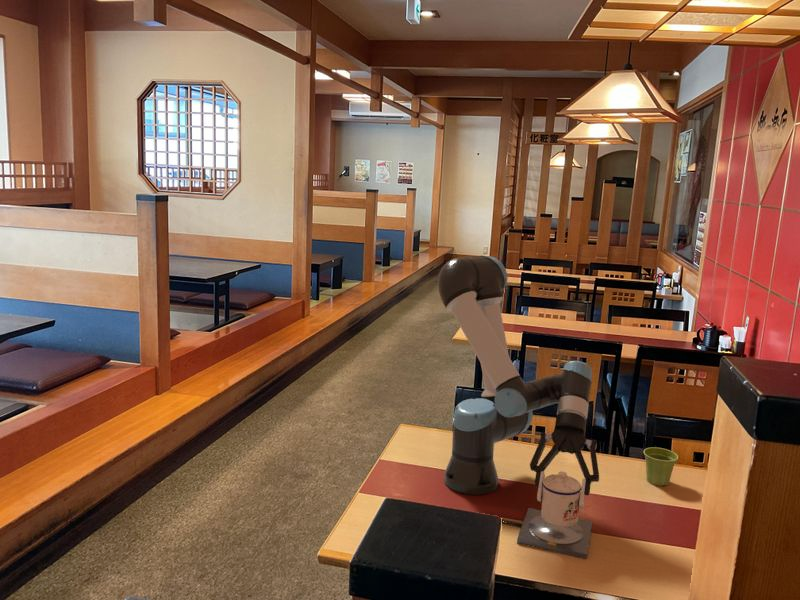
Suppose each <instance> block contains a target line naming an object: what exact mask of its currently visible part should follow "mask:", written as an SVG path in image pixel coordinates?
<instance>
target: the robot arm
mask: <svg viewBox="0 0 800 600" xmlns="http://www.w3.org/2000/svg"><path fill="white" fill-rule="evenodd" d="M507 284H508V273H507V270H506V267H505V266H504V264H503V263H502V262H501V260H498V259H497V258H496V257H494V256H491V255H490V256H487V255H479V256H469V257H468V256H465V257H455V258H452V259H450V260H448V261H447V262H446V263H445V264H444V265H443V266H442V267H441V269H440V270H439V274H438V277H437V290H438V294H439V296H440V300H441V301H442V304H443V306H444V307H445V309H446V311H447V312H451V313H452V314H453V316H454V318H455V321H456V322H457V323H458V325H459V326H460V329H461V331H462V332H463V335H464V336H465V337H466V339H467V341H468V343H469V344H470V346H471V348H472V350H473V352H474V354H475V355H476V357H477V359H478V361H479V362H480V367H481V372H482V378H483V383H484V384H483V385H484V389H483V391H482V393H481V398H480V397H479V398H477V397H476V398H468V399H465V400H462V401H461V402H459V403H458V404H457V405H456V406H455V408H454V415H453V417H452V423H453V425H452V446H451V448H452V450H451V456H450V459H449V460H448V461H449V462H448V464H447V466H446V469H445V471H444V477H443V478H444V479H443V480H444V484H445V485H446V487H448V488H449V489H450V490H452V491H455V492H457V493H461V494H465V495H474V496H477V495H486V494H489V493H492V492H494V491H496V489H497V488H498V483H499V476H498V472H497V468H496V465H495V462H494V461H495V460H494V449H495V444H496V443H499V442H502V441H505V440H507V439H509V438H514V437H517V436H519V435H520V434H522V433H524V432H526V431H527V430H528V429H529V427H530V426H531V424H532V421H533V411H536V410H539V409H542V408H545V407H548V406H552V405H554V404H557V412H556V417H555V424H554V430H553V431H552V433H546V432H545V431H541V432H540V438H539V439H540V440H539V442H538V445H537V446H536V450H535V451H534V454H533V455H532V459H531V461H530V462H529V467H530V471H532V472H535V478H534V485H535V487H538V489H537V494H536V500H537V501H538V502H541V503H542V495H543V485H542V482H543V480H544V478H545V477H546V476H545V470H546V469H547V468H548V467H549V465H550V464H551V462H552V461H553V460H554V459H555V457H556V456H557V455H558V454H559V453H568V454H572V455H575V457H576V459H577V462H578V465H579V467H580V470H581V472H582V475H583V477H584V478H582V479H581V491H580V501H579V510H583V509H584V501H585V496H589V495H590V493H591V484H592V483H594V482H597V483H598V482H599V481H600V472H599V465H598V458H597V451H596V450H597V446H598V442H597V439H592V440H591V439H588V438H586V429H587V428H586V427H587V419H588V413H589V403H590V402H589V401H590V397H591V395H590V394H591V388H592V383H593V381H592V380H593V370H592V367H591V366H590V365H588V363H585V362H583V361H581V360H570V361H568V362H566V363H565V364H564V365H563V369H562V372H560V373H557V374H554V375H550V376H544V377H541V378H536V379H532V380H530V381H528V382H525V381H524V380H523V378H522V376H521V375H520V373H519V371H518V370H517V368H516V366H515V364H514V363H513V361H512V360H511V358H510V355H509V349H508V344H507V343H508V342H507V339H506V332H505V328H504V321H503V317H502V310H501V306H500V304H501V302H502V301H503V299H504V294H503V291H504V290H505V288H506V287H507V286H506V285H507ZM550 440H552V442H553V445H552V447H551V449H550V450H549V451H548V453H547V454H546V455H545V456H544V457H543V459H542V461H541V462H540V459H541V456H542V455H543V453H544V450H545V448H546V445H547V444H548V443H549V442H550ZM585 445H586V447H587V449H588V450H589V452H590V459H591V462H590V463H591V468H592V474H591V473H590V470H589V468H588V465H587V463H586V461H585V458H584V456H583V454H582V450H581V449H582V448H583V447H584V446H585ZM539 462H540V463H539Z"/></svg>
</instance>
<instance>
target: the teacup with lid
mask: <svg viewBox="0 0 800 600" xmlns="http://www.w3.org/2000/svg"><path fill="white" fill-rule="evenodd" d="M542 485H543V491H542V497H541V509H540V510H541V516H542V518H543V519H544V520H545V521H546V522H548V523H549V524H552V525H555V526H560V527H568V526H572V525H575V524H576V523H577V521H578V518H579V511H580V509H579V503H580V495H581V486H582V483H580V482H579V480H577V479H576V478H574V477H572V476H569V475H568V474H567V472H565V471H562V470H561V471H559V472H558V473H557V474H550V475H547V476H545V478H544V480H543V482H542Z"/></svg>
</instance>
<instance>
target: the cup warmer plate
mask: <svg viewBox="0 0 800 600" xmlns="http://www.w3.org/2000/svg"><path fill="white" fill-rule="evenodd" d="M541 510H542V509H540V510H539V509H536V508H531V507H528V509H527V511H526V514H525V517H524V519H523V522H522V523H521V522H517V521H512V520H507V519H504V518H503V519H502V518H501V519H502V522H503V521H504V523H503V524H506V523H507V524H506V525H511V524H512V525H511V526H517V527H520V530H519V533H518V535H517V538H516V544H518V543H519V545H523V544H524V545H523V546H527V545H529V546H528V547H531V546H534V547H533V548H536V547H537V548H536V549H540V548H542V549H541V550H545V551H549V550H550V551H551V552H553V551H555V553H558V552H559V553H558V554H563V555H568V556H572V557H574V558H576V557H577V558H581V559H584V560H587V559H588V553H589V547H590V540H591V535H592V534H591V533H592V528H593V527H592V526H593V520H589V519H585V518H584V519H583V518H579V517H578V521H577V523H576V524H575V525H572V526H568V527H560V526H555V525H552V524H549V523H548V522H546V521H545V520H544V519H543V518H542V516H541ZM505 522H506V523H505Z"/></svg>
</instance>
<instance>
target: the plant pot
mask: <svg viewBox="0 0 800 600" xmlns="http://www.w3.org/2000/svg"><path fill="white" fill-rule="evenodd" d="M642 454H643V455H644V458H645V471H646V475H645V477H646V480H647V482H649V483H650V484H652V485H653V486H659V487H661V486H668V485H669V484H670V480H671V477H672V474H673V470H674V466H675V464H676V462H677V461H678V460H679V455H678V454H677V453H676V452H674V451H672V450H670V449H667V448H662V447H657V446H654V447H647V448H645V449H644V450H643V453H642Z"/></svg>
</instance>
